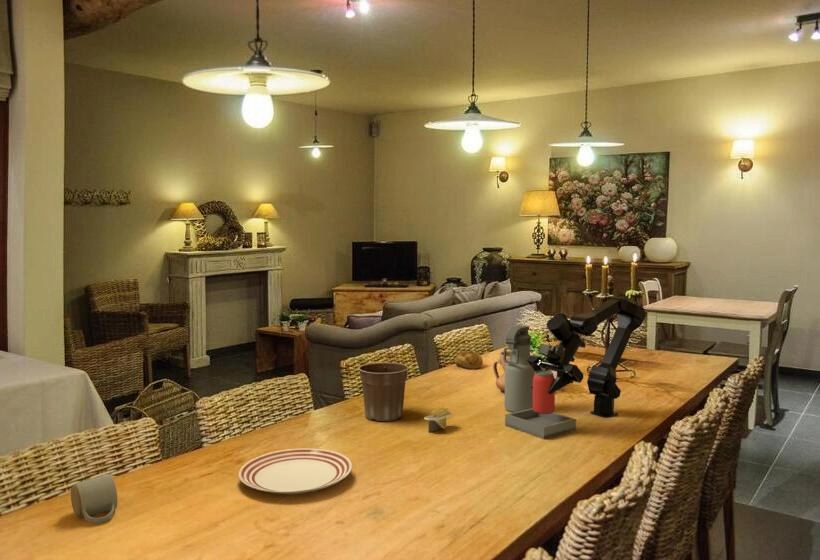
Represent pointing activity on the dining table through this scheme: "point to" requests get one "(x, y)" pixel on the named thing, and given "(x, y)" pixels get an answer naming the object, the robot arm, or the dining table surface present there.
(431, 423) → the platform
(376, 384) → the plant pot
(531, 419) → the tray
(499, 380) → the ceramic jug
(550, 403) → the beer can
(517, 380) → the water bottle
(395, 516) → the dining table surface
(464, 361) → the bread roll
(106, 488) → the ceramic mug
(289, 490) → the dinner plate
